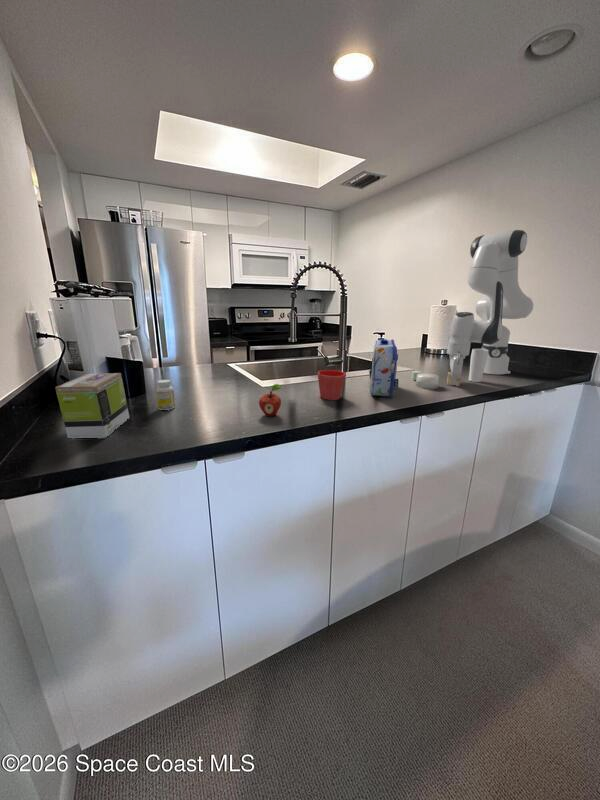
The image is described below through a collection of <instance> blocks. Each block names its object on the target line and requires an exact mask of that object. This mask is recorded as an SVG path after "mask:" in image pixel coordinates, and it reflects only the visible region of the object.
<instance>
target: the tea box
mask: <svg viewBox="0 0 600 800" xmlns="http://www.w3.org/2000/svg"><path fill="white" fill-rule="evenodd" d="M123 381H124V380H123V376H122V373H121V372H114V373H113V372H112V373H109V372H108V373H106V372H105V373H103V372H102V373H85V374H83V375H81V376H79V377H76V378H73V379H71V380H68V381H66V382H64V383H63V384H60V385H57V386H55V387H54V388H55V393H56V396H57V401H58V404H59V405H58V406H59V409H60V413H61V415H62V420H63V424H64V428H65V432H66V436H67V439H68V438H98V439H106V438H108V437H109V436H110V435H111V434H113V432H114V430H115V429H116V430H117V429H118V428H119V427H121V426H122V425H123V424H124V423H125V422H126V421H128V420H129V419H130V412H129V409H128V403H127V398H126V397H127V396H126V393H125V387H124V382H123ZM127 419H128V420H127ZM120 425H121V426H120ZM116 430H115V431H116ZM107 436H108V437H107ZM105 437H106V438H105Z"/></svg>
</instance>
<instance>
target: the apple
mask: <svg viewBox="0 0 600 800" xmlns="http://www.w3.org/2000/svg"><path fill="white" fill-rule="evenodd" d="M281 388H282V384H279V383H273V385H272V386H271V390H269V393H267V394H263V395H262V396H261V397H260V398H259V401H258V405H259V408H260V409H261V411H262V413H264V415H265V416H267V417H275V416H276V415H277V414H278V412H279V410H280V408H281V405H282V401H281V397H280V396H279V395H278V394H276V393H273V391H277V390H280V389H281ZM274 415H275V416H274Z"/></svg>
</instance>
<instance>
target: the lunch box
mask: <svg viewBox="0 0 600 800" xmlns="http://www.w3.org/2000/svg"><path fill="white" fill-rule="evenodd" d="M398 359H399V354H398V347H397V346H396V344H395V340H394V339H387V338H385V339H383V338H381V339H376V340H375V342H374V345H373V353H372V364H371V375H370V380H369V381H370V382H369V392H370V395H371V396H380V397H390V398H392V397H393V396H394V395H395V390H398V389H399V378H396V377H397V370H398Z"/></svg>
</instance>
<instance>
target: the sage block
mask: <svg viewBox="0 0 600 800" xmlns="http://www.w3.org/2000/svg"><path fill="white" fill-rule="evenodd" d="M420 373H423V372H422V371H420V370H411V373H410V380H411V381H413V380H417V374H420Z"/></svg>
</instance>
